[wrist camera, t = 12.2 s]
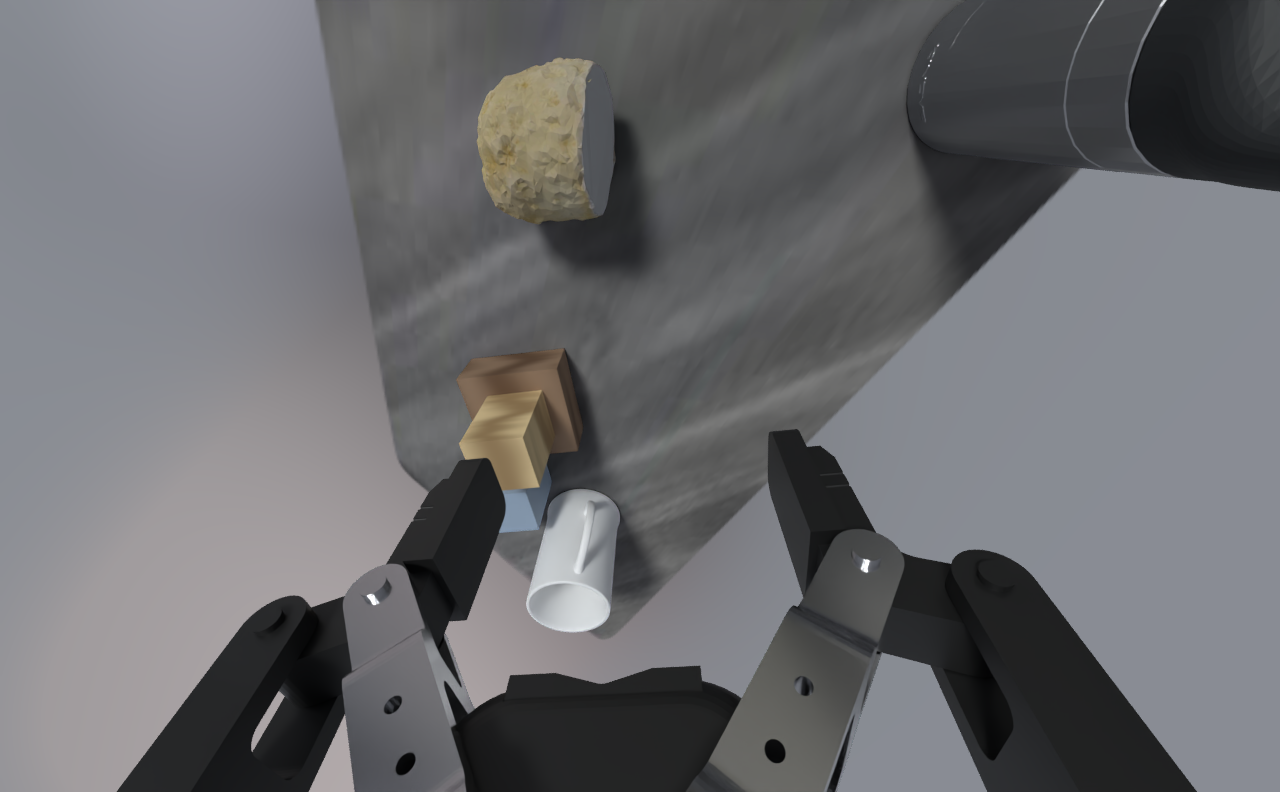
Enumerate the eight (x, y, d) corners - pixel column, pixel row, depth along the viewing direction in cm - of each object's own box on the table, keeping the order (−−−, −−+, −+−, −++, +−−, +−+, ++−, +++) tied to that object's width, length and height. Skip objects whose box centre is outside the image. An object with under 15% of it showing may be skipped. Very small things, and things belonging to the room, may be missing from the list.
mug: (566, 458, 49) (544, 547, 39) (640, 480, 50) (637, 572, 40) (540, 528, 55) (514, 622, 44) (606, 547, 56) (596, 642, 46)
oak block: (541, 390, 40) (522, 437, 34) (555, 435, 42) (539, 487, 36) (487, 396, 40) (458, 443, 34) (503, 440, 43) (479, 492, 37)
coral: (650, 244, 30) (496, 247, 27) (602, 203, 38) (476, 202, 34) (670, 70, 25) (480, 45, 21) (609, 62, 32) (460, 43, 29)
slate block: (541, 446, 48) (525, 492, 42) (552, 481, 51) (538, 529, 45) (496, 450, 49) (474, 496, 43) (509, 485, 51) (490, 533, 45)
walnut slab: (564, 348, 42) (556, 368, 39) (583, 426, 47) (578, 450, 43) (471, 359, 43) (456, 379, 39) (499, 435, 47) (487, 459, 44)
